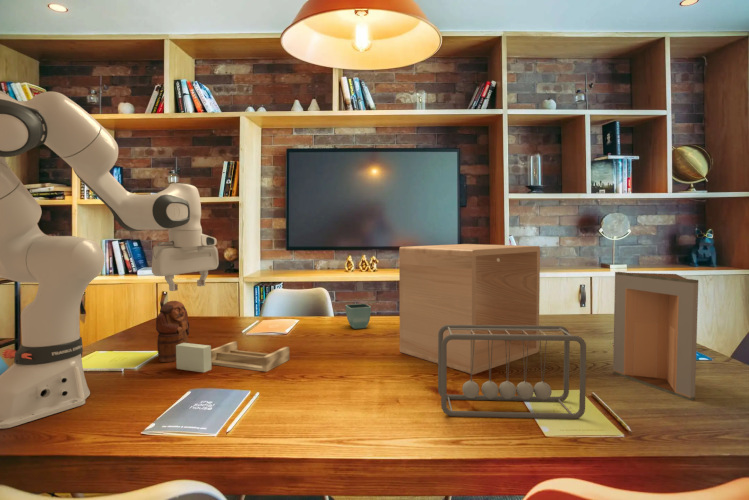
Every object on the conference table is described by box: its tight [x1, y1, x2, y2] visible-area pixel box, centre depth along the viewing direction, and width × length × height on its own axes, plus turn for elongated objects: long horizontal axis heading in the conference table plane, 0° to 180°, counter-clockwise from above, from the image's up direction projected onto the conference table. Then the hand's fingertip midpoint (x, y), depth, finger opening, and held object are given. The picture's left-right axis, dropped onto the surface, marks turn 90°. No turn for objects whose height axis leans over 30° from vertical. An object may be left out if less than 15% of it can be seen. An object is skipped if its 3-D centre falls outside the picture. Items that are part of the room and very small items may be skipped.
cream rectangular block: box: [175, 342, 212, 373], centre depth 128 cm, size 3×10×7 cm, turn 69°
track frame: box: [211, 340, 290, 373], centre depth 134 cm, size 12×21×4 cm, turn 69°
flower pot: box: [345, 303, 372, 330], centre depth 180 cm, size 9×9×9 cm
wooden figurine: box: [155, 300, 191, 363], centre depth 139 cm, size 12×6×18 cm, turn 175°
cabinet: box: [612, 271, 699, 401], centre depth 113 cm, size 21×10×28 cm, turn 21°
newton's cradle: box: [437, 325, 587, 420], centre depth 99 cm, size 30×10×18 cm, turn 86°
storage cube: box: [398, 243, 541, 376], centre depth 143 cm, size 34×29×34 cm
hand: (187, 288), depth 128 cm, fingers open, 8 cm apart
